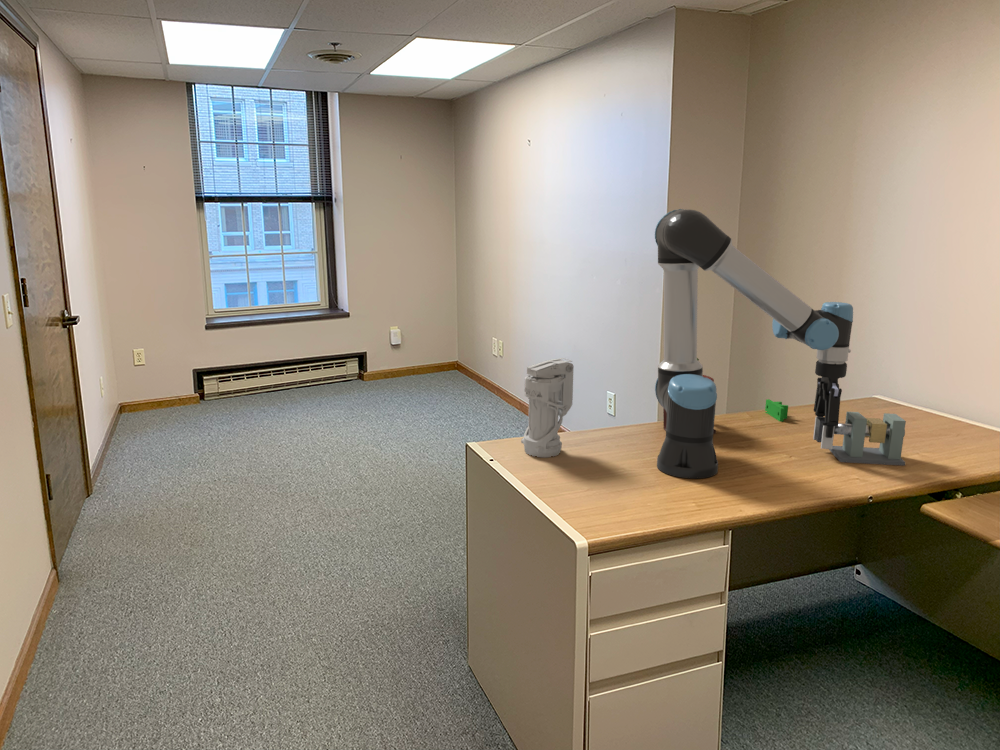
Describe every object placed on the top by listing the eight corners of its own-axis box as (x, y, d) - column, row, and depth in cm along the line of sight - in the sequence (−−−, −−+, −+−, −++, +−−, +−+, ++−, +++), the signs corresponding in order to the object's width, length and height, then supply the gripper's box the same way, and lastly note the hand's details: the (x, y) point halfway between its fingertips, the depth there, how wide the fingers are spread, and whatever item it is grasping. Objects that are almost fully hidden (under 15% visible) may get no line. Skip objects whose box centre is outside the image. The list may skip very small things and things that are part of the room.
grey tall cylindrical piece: (536, 460, 191) (538, 367, 185) (516, 448, 200) (517, 360, 194) (576, 452, 197) (579, 362, 191) (556, 442, 206) (558, 355, 200)
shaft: (898, 442, 195) (901, 421, 194) (903, 446, 192) (906, 424, 190) (814, 438, 198) (816, 417, 197) (817, 442, 195) (820, 420, 193)
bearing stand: (889, 452, 200) (894, 411, 197) (904, 465, 189) (910, 423, 186) (828, 448, 202) (832, 409, 199) (840, 462, 191) (845, 420, 189)
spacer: (877, 436, 196) (879, 418, 195) (884, 443, 191) (887, 424, 190) (863, 436, 197) (865, 417, 196) (870, 442, 192) (872, 423, 190)
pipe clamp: (791, 422, 228) (792, 408, 227) (779, 422, 228) (781, 408, 227) (775, 412, 239) (777, 398, 238) (764, 412, 239) (766, 398, 238)
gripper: (859, 369, 181) (848, 456, 186) (835, 354, 200) (826, 433, 205) (827, 368, 182) (817, 455, 187) (807, 353, 201) (798, 432, 206)
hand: (822, 443), depth 196 cm, fingers open, 7 cm apart
